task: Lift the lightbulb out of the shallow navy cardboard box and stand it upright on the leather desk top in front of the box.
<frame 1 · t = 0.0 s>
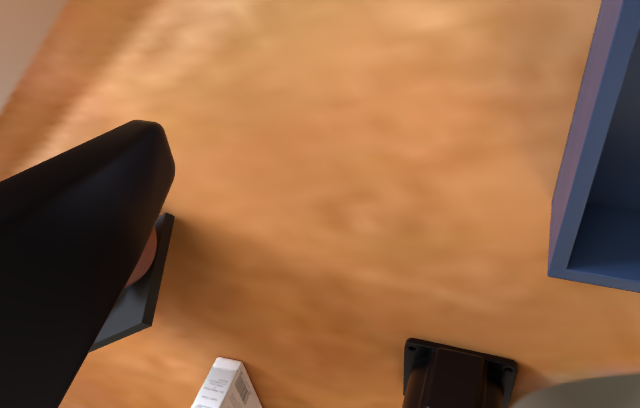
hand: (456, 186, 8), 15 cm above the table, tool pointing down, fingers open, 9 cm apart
character figurine: (117, 231, 39), on the table
ink cartridge box: (249, 393, 49), on the table
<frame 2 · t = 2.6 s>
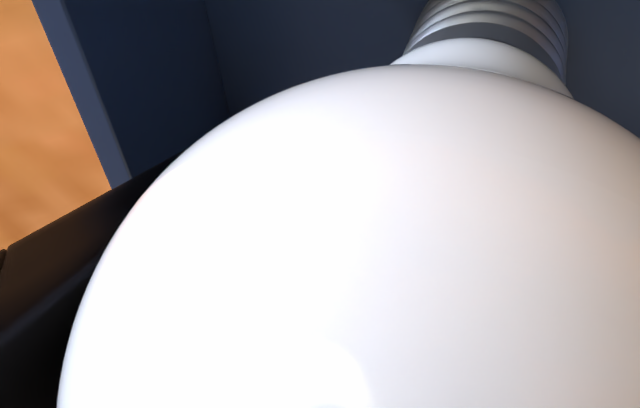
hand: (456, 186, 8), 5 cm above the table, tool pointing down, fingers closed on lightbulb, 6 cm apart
lightbulb: (492, 22, 11), resting on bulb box, touching gripper
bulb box: (494, 17, 12), on the table
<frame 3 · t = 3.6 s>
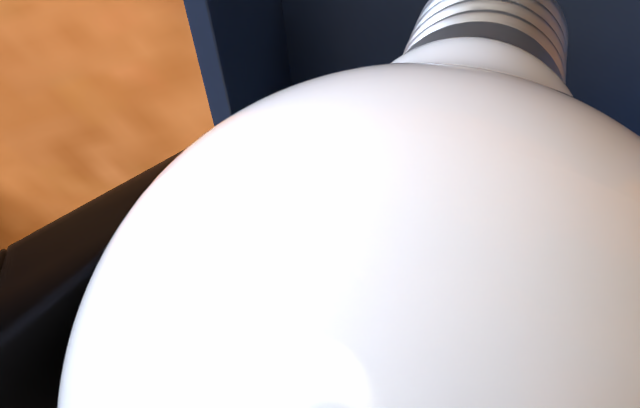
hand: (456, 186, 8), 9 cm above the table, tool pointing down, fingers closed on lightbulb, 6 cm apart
lightbulb: (493, 21, 11), point 4 cm above the table, touching gripper
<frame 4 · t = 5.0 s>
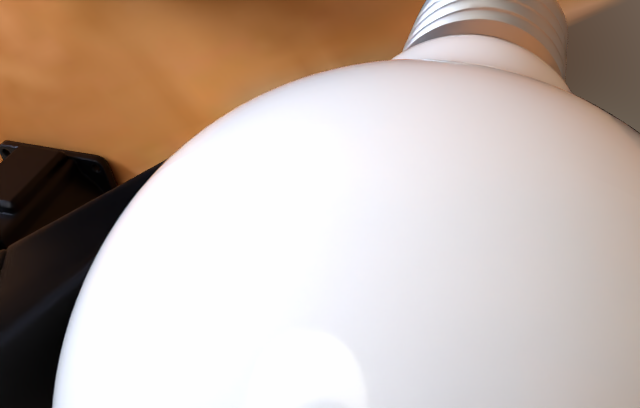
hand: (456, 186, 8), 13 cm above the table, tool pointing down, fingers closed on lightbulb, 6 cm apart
lightbulb: (492, 19, 11), point 8 cm above the table, touching gripper
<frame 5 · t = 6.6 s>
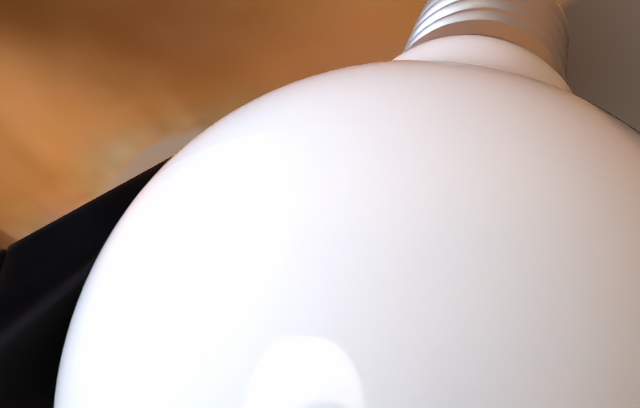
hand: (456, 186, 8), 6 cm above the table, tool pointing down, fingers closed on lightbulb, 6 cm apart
lightbulb: (493, 20, 11), point 1 cm above the table, touching gripper
when the fingers open (5 cm above the table, at t = 7.6 s): lightbulb stays where it is, on the table.
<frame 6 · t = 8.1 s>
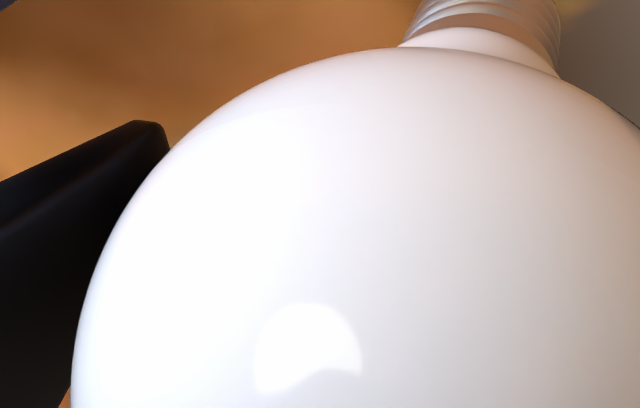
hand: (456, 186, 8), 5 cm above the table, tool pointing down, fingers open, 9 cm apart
lightbulb: (488, 15, 12), on the table
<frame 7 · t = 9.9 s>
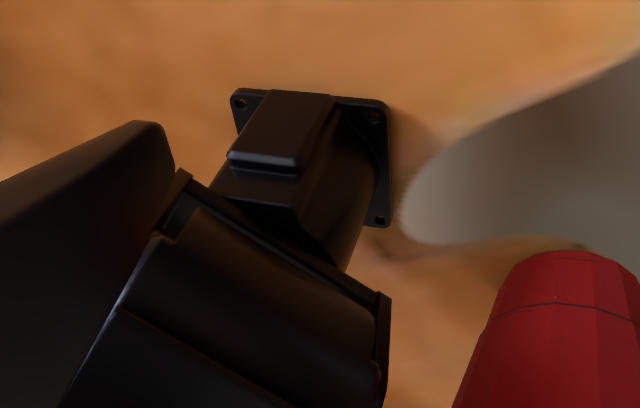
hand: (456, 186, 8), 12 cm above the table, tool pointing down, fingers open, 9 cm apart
plastic cup: (568, 286, 27), on the table
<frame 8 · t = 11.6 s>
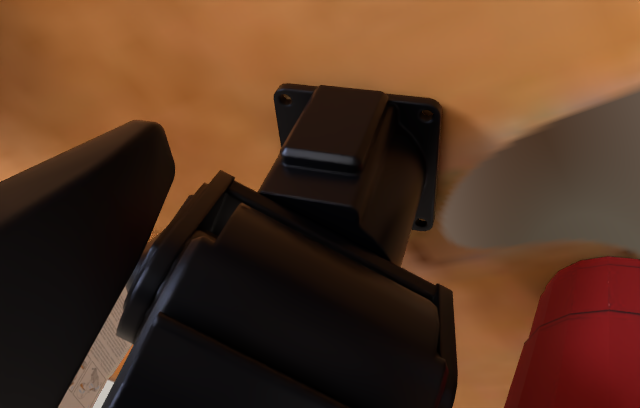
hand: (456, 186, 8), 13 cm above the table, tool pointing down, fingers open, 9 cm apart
plastic cup: (611, 293, 26), on the table
ink cartridge box: (110, 248, 36), on the table
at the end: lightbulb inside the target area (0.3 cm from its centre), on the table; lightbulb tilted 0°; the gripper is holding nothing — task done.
